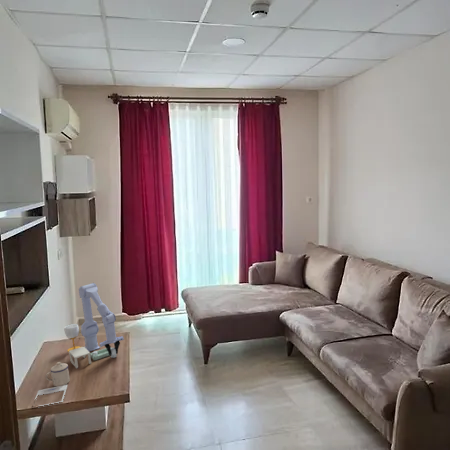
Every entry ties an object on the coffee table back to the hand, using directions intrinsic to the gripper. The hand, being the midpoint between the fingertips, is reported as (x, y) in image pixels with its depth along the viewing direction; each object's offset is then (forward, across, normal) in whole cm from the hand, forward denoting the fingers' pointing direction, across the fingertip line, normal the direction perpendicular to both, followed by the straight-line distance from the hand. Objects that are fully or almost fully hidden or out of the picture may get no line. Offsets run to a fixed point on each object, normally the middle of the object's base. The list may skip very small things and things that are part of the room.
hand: (113, 354), depth 256 cm
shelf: (+2, -18, +8) cm, 20 cm away
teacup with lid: (+2, -35, -10) cm, 37 cm away
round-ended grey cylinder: (+1, 0, 0) cm, 1 cm away
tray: (+2, -4, +8) cm, 9 cm away
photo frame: (+2, -42, -23) cm, 48 cm away
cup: (+2, -16, +31) cm, 35 cm away
